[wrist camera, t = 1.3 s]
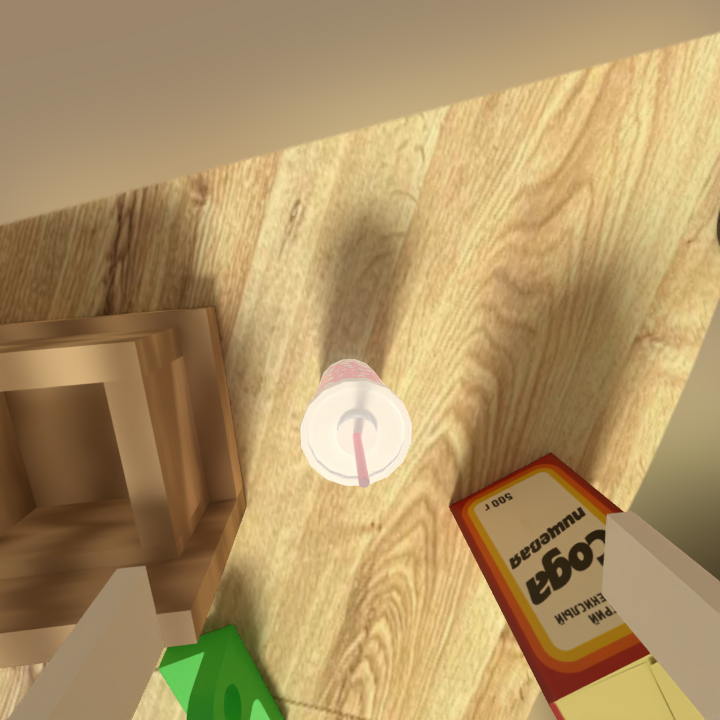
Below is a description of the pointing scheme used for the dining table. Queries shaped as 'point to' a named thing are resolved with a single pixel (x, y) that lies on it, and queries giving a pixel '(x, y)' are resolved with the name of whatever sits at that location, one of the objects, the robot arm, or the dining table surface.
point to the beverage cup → (355, 426)
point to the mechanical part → (218, 679)
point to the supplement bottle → (719, 232)
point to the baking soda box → (564, 595)
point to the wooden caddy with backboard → (113, 471)
